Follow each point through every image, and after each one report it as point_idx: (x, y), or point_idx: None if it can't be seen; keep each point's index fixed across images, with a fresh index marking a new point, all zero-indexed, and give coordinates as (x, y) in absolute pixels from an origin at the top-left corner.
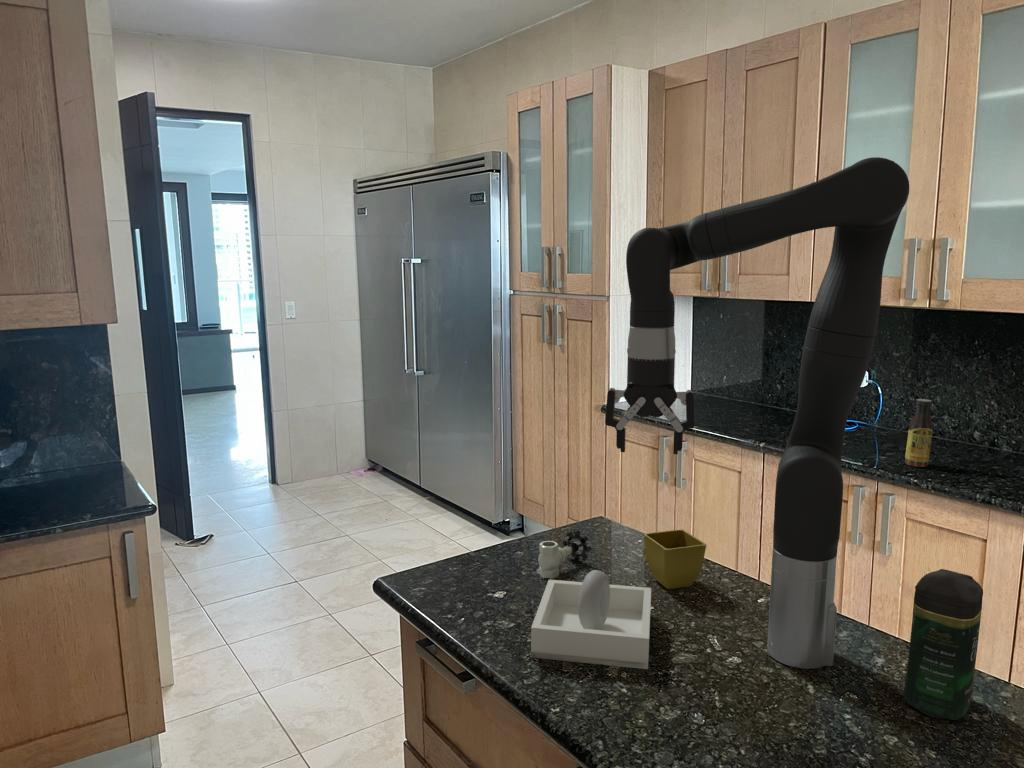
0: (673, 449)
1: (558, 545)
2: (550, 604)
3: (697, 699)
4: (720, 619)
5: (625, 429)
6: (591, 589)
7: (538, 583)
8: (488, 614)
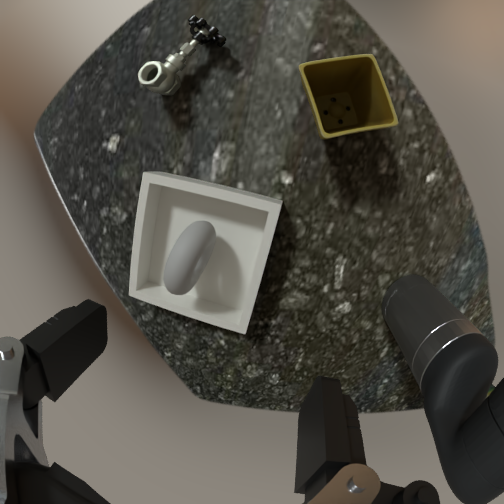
0: (305, 412)
1: (162, 73)
2: (150, 214)
3: (282, 360)
4: (367, 221)
5: (45, 361)
6: (174, 292)
7: (154, 109)
8: (103, 193)
